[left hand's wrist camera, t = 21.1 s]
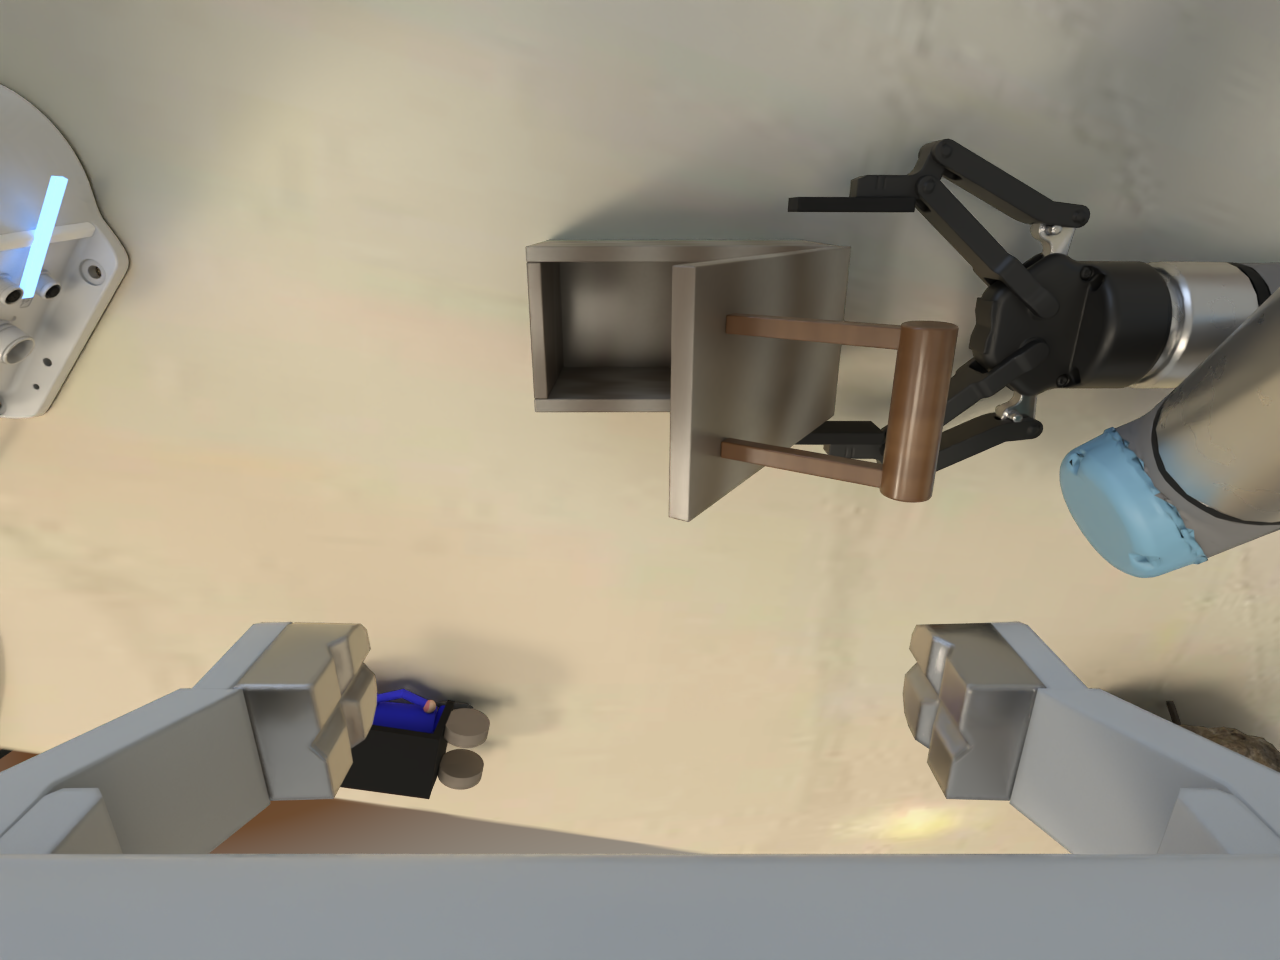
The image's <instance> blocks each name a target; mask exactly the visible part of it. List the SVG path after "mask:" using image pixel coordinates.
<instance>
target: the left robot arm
mask: <svg viewBox="0 0 1280 960" xmlns="http://www.w3.org/2000/svg"><path fill="white" fill-rule="evenodd" d="M128 265H129V260H128V256H127V253H126V251H125V249H124V247H123V246H122V244H121V243H120V241H119V240H118V238H117V237H116V235H115V234H114V233H113V231H112V230H111V229H110V227H109V226H108V225H107V223H106V222H105V221H104V220H103V218H102V216H101V214H100V212H99V209H98V207H97V204H96V201H95V198H94V195H93V192H92V189H91V186H90V183H89V181H88V178H87V176H86V173H85V171H84V169H83V167H82V165H81V163H80V161H79V159H78V158H77V156H76V154H75V153H74V151H73V149H72V148H71V146H70V145H69V143H68V142H67V141H66V139H65V138H64V137H63V135H62V134H61V133H60V131H59V130H58V129H57V128H56V127H55V126H54V125H53V123H52V122H51V121H50V120H49V119H48V118H47V117H46V116H45V115H44V114H43V113H41V112H40V111H39V110H38V109H37V108H36V107H35V106H33V105H32V104H31V103H30V102H28V101H27V100H26V99H24V98H23V97H22V96H20V95H19V94H17V93H15V92H14V91H12V90H11V89H9V88H7V87H5V86H3V85H1V84H0V402H1V405H0V417H2V418H13V419H19V418H32V417H37V416H41V415H43V414H45V413H46V411H47V410H48V409H49V407H50V405H51V404H52V402H53V400H54V399H55V397H56V395H57V393H58V392H59V390H60V388H61V386H62V385H63V383H64V381H65V379H66V378H67V376H68V374H69V372H70V370H71V369H72V367H73V365H74V363H75V362H76V360H77V358H78V356H79V355H80V353H81V351H82V349H83V348H84V346H85V344H86V342H87V340H88V339H89V337H90V335H91V333H92V332H93V330H94V328H95V326H96V325H97V323H98V321H99V319H100V318H101V316H102V314H103V312H104V311H105V309H106V307H107V305H108V303H109V302H110V300H111V298H112V296H113V295H114V293H115V291H116V289H117V288H118V286H119V284H120V282H121V281H122V279H123V277H124V275H125V273H126V272H127V269H128ZM96 267H98V268H99V269H100V271H101V277H100V276H99V275H98V274H97V272H96ZM370 649H371V648H370V643H369V638H368V633H367V629H366V628H365V627H364V626H363V625H362V624H355V623H305V622H295V623H292V622H261V623H257V624H253V625H252V626H251V627H250V628H249V629H248V630H247V631H246V632H245V633H244V634H243V636H242V637H241V638H240V639H239V640H238V641H237V642H236V643H235V644H234V645H233V646H232V647H231V648H230V649H229V650H228V651H227V652H226V653H225V654H224V655H223V656H222V658H221V659H220V660H219V661H218V662H217V663H216V664H215V665H214V666H213V667H212V668H211V669H210V670H209V671H208V672H207V673H206V674H205V675H204V676H203V677H202V678H201V680H200V681H199V682H198V683H197V684H196V685H195V686H194V687H193V688H192V689H179V690H176V691H174V692H172V693H170V694H168V695H166V696H164V697H161V698H159V699H157V700H155V701H153V702H151V703H149V704H146V705H144V706H142V707H140V708H138V709H136V710H134V711H131V712H129V713H127V714H125V715H123V716H121V717H118V718H116V719H114V720H112V721H110V722H108V723H106V724H103V725H101V726H99V727H97V728H95V729H93V730H91V731H88V732H86V733H84V734H82V735H80V736H78V737H75V738H73V739H71V740H69V741H67V742H65V743H63V744H60V745H58V746H56V747H54V748H52V749H50V750H48V751H45V752H43V753H41V754H39V755H37V756H35V757H33V758H30V759H28V760H26V761H24V762H22V763H20V764H17V765H15V766H13V767H11V768H9V769H7V770H5V771H2V772H0V960H1280V773H1279V772H1277V771H1275V770H1273V769H1271V768H1269V767H1266V766H1264V765H1262V764H1260V763H1258V762H1256V761H1254V760H1251V759H1249V758H1247V757H1245V756H1243V755H1241V754H1239V753H1236V752H1234V751H1232V750H1230V749H1228V748H1226V747H1224V746H1221V745H1219V744H1217V743H1215V742H1213V741H1211V740H1209V739H1206V738H1204V737H1202V736H1200V735H1198V734H1196V733H1194V732H1191V731H1189V730H1187V729H1185V728H1183V727H1181V726H1178V725H1176V724H1174V723H1172V722H1170V721H1168V720H1166V719H1163V718H1161V717H1159V716H1157V715H1155V714H1153V713H1151V712H1148V711H1146V710H1144V709H1142V708H1140V707H1138V706H1136V705H1133V704H1131V703H1129V702H1127V701H1125V700H1123V699H1121V698H1118V697H1116V696H1114V695H1112V694H1110V693H1108V692H1106V691H1103V690H1101V689H1088V688H1087V687H1086V686H1085V685H1084V684H1083V683H1082V682H1081V681H1080V679H1079V678H1078V677H1077V676H1076V675H1075V674H1074V673H1073V672H1072V671H1071V670H1070V669H1069V668H1068V667H1067V666H1066V665H1065V664H1064V663H1063V662H1062V661H1061V660H1060V658H1059V657H1058V656H1057V655H1056V654H1055V653H1054V652H1053V651H1052V650H1051V649H1050V648H1049V647H1048V646H1047V645H1046V644H1045V643H1044V642H1043V641H1042V640H1041V639H1040V637H1039V636H1038V635H1037V634H1036V633H1035V632H1034V631H1033V630H1032V629H1031V628H1030V627H1029V626H1028V625H1026V624H1024V623H1021V622H994V623H969V624H929V625H916V627H915V629H914V631H913V633H912V637H911V642H910V648H909V649H910V651H911V653H912V654H913V656H914V658H915V659H916V661H917V663H916V664H915V665H914V666H913V667H912V668H911V669H910V670H909V671H908V672H907V673H906V674H905V680H904V688H903V702H904V713H905V716H906V720H907V723H908V726H909V728H910V730H911V732H912V734H913V736H914V738H915V740H917V741H918V742H920V743H921V744H923V745H924V746H926V747H927V748H929V754H928V759H927V763H928V765H929V767H930V769H931V771H932V773H933V775H934V776H935V778H936V780H937V782H938V784H939V786H940V788H941V790H942V791H943V793H944V795H945V797H946V799H972V800H1008V801H1010V804H1011V805H1012V806H1013V807H1015V808H1016V809H1017V810H1018V811H1020V812H1021V813H1022V814H1023V815H1024V816H1026V817H1027V818H1028V819H1029V820H1031V821H1032V822H1033V823H1034V824H1036V825H1037V826H1038V827H1039V828H1041V829H1042V830H1043V831H1044V832H1046V833H1047V834H1048V835H1049V836H1051V837H1052V838H1053V839H1054V840H1055V841H1057V842H1058V843H1059V844H1060V845H1062V846H1063V847H1064V848H1065V849H1067V850H1068V851H1069V852H1070V853H1072V854H209V853H210V852H211V851H212V850H214V849H215V848H216V847H217V846H219V845H220V844H221V843H222V842H224V841H225V840H226V839H227V838H228V837H230V836H231V835H232V834H233V833H235V832H236V831H237V830H238V829H240V828H241V827H242V826H243V825H245V824H246V823H247V822H248V821H250V820H251V819H252V818H253V817H255V816H256V815H257V814H258V813H260V812H261V811H262V810H263V809H265V808H266V807H267V806H268V805H269V804H270V801H271V800H307V799H334V797H335V795H336V793H337V791H338V790H339V788H340V786H341V784H342V782H343V780H344V778H345V776H346V775H347V773H348V771H349V769H350V767H351V765H352V763H353V759H352V754H351V748H353V747H354V746H356V745H357V744H359V743H360V742H362V741H363V740H365V738H366V736H367V734H368V732H369V730H370V728H371V726H372V724H373V719H374V715H375V710H376V706H377V686H376V679H375V674H374V673H373V672H372V671H371V670H370V669H369V668H368V667H367V666H366V665H365V664H364V663H363V661H364V659H365V658H366V656H367V654H368V653H369V651H370ZM11 751H13V749H7V748H2V749H1V750H0V759H1V758H3V757H4V756H6V755H7V754H8V753H10V752H11Z"/></svg>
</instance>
